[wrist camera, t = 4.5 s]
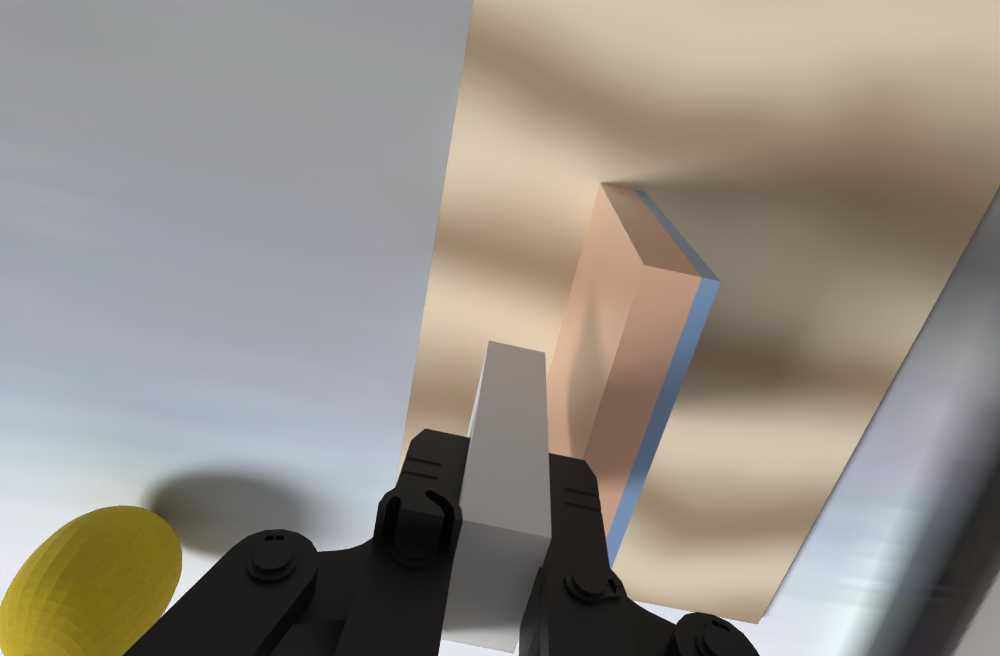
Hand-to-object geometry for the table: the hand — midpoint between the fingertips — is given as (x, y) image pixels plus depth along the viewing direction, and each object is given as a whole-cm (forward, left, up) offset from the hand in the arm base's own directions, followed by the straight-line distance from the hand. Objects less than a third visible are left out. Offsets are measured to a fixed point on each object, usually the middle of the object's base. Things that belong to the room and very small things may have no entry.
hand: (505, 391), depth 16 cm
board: (0, +6, -7) cm, 9 cm away
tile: (0, +3, -7) cm, 7 cm away
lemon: (+15, -14, -8) cm, 22 cm away
